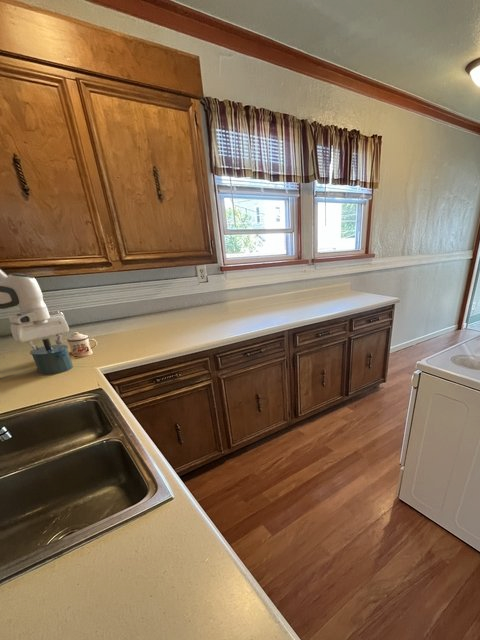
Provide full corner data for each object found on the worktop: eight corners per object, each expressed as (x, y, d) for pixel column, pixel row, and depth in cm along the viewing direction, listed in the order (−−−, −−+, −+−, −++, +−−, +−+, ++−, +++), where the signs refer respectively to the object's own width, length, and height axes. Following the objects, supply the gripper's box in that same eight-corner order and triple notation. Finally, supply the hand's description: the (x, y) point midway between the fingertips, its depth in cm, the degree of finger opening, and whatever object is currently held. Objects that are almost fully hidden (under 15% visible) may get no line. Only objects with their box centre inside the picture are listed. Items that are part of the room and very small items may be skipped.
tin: (53, 378, 137) (45, 357, 133) (30, 371, 145) (21, 351, 140) (82, 369, 147) (76, 349, 143) (59, 362, 155) (52, 343, 150)
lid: (41, 358, 134) (36, 345, 131) (23, 353, 139) (18, 341, 137) (75, 349, 145) (71, 337, 142) (57, 345, 150) (52, 333, 148)
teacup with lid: (72, 358, 160) (64, 335, 154) (72, 353, 166) (64, 331, 161) (100, 354, 166) (93, 331, 160) (98, 349, 172) (92, 328, 167)
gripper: (57, 309, 144) (68, 339, 151) (3, 319, 128) (17, 352, 134) (66, 310, 142) (76, 341, 148) (12, 320, 126) (25, 354, 132)
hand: (48, 347), depth 141 cm, fingers open, 8 cm apart
